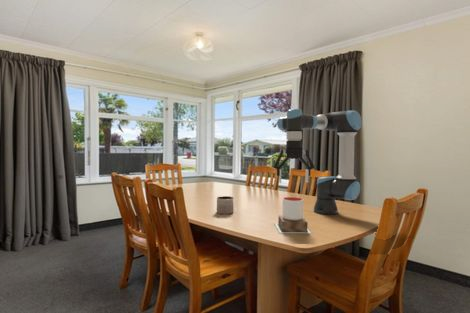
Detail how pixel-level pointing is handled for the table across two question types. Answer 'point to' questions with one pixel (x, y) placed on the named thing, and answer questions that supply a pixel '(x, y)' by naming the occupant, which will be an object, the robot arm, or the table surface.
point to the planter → (225, 205)
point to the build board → (291, 232)
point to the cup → (292, 208)
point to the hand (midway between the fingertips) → (293, 182)
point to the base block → (292, 225)
